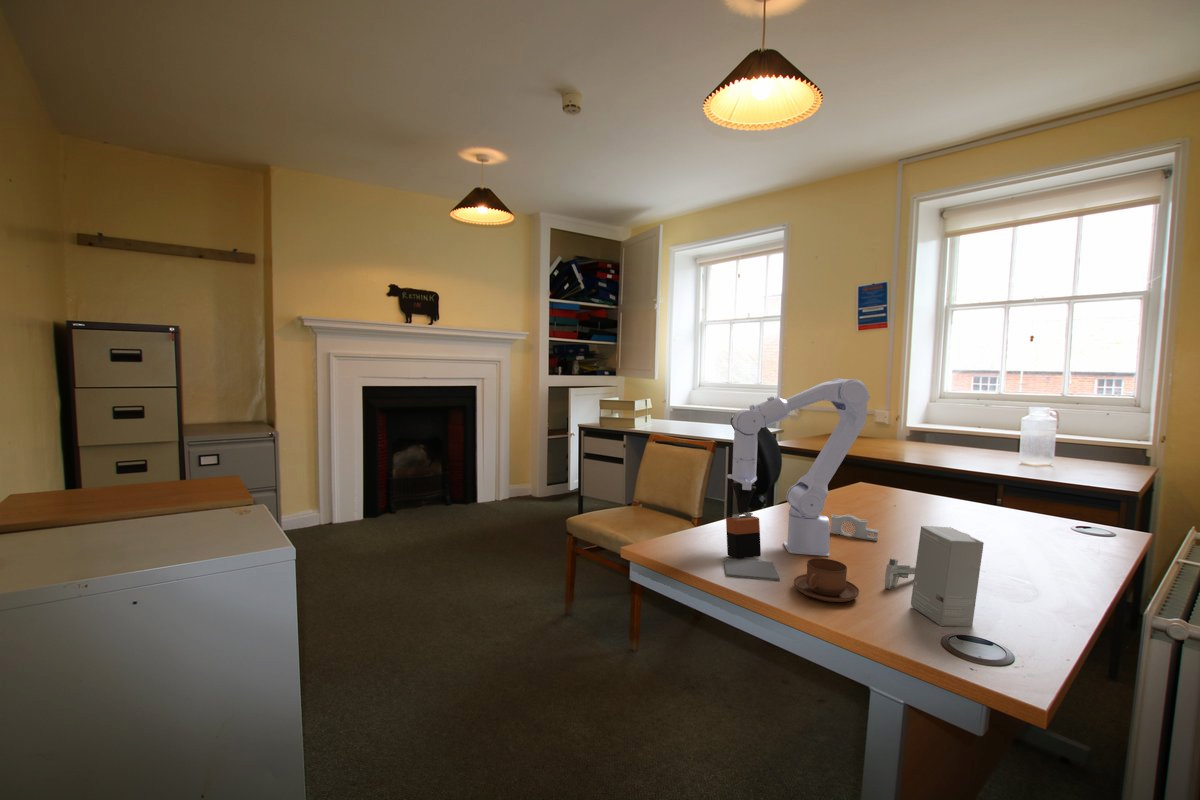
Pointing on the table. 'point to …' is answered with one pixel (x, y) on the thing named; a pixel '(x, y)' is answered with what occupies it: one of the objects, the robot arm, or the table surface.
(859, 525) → the garden wall model
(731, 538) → the battery
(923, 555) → the skincare box
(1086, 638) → the table surface
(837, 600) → the cup and saucer
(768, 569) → the mat
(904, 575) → the caliper
